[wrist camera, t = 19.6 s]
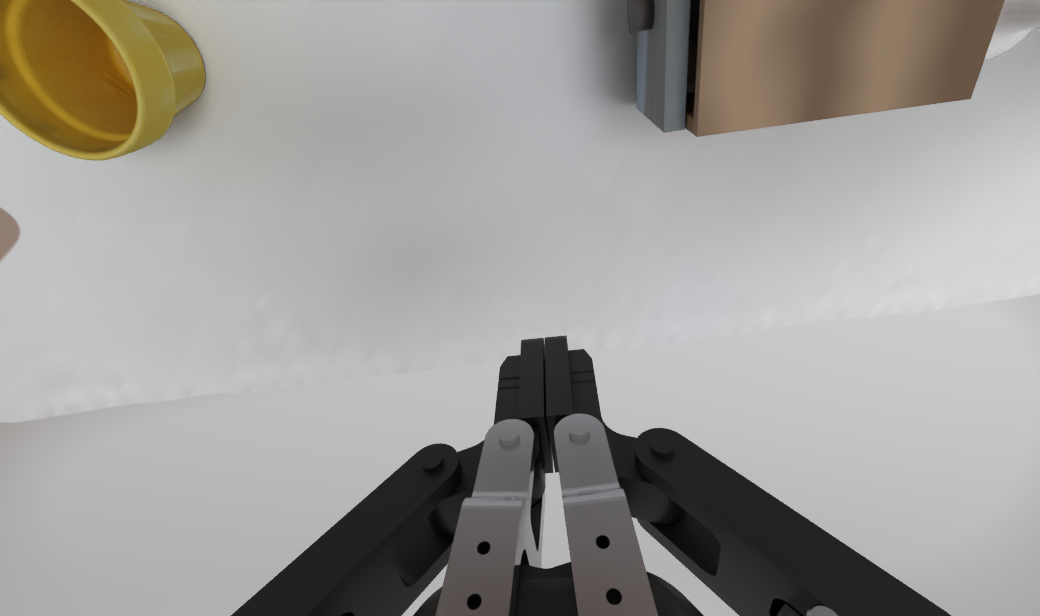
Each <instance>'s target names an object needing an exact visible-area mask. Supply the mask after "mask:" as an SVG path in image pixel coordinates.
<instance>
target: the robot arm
mask: <svg viewBox="0 0 1040 616" xmlns="http://www.w3.org/2000/svg"><path fill="white" fill-rule="evenodd" d="M552 454H553V455H552ZM553 460H554V467H555V472H559V475H560V483H561V490H562V499H563V506H564V514H565V521H566V528H567V536H568V543H569V550H570V557H571V562H569V563H566V564H563V565H559V566H556V567H554V568H549V569H542V568H541V553H542V539H543V523H544V509H545V492H544V491H545V473H553ZM631 517H634V518H637V520H638V522H639V523H640V525H641V526H642V527H643V528H644V529H645V530H646V531H647V532H648V533H649V534H650V535H651V536H653V537H654V538H655V539H656V540H657V541H658V542H659V543H660V544H661V545H662V546H664V547H665V548H666V549H667V550H668V551H669V552H670V553H671V554H672V555H673V556H675V557H676V558H677V559H678V560H679V561H680V562H681V563H682V564H683V565H684V566H685V567H687V568H688V569H689V570H690V571H691V572H692V573H693V574H694V575H695V576H696V577H698V578H699V579H700V580H701V581H702V582H703V583H704V584H705V585H706V586H707V587H709V588H710V589H711V590H712V591H713V592H714V593H715V594H716V595H717V596H718V597H720V598H721V599H722V600H723V601H724V602H725V603H726V604H727V605H728V606H729V607H731V608H732V609H733V610H734V611H735V612H736V613H737V614H738V615H739V616H951V615H950V614H948V613H947V612H946V611H944V610H943V609H941V608H940V607H938V606H936V605H935V604H934V603H932V602H930V601H929V600H928V599H926V598H925V597H923V596H922V595H920V594H919V593H917V592H916V591H914V590H913V589H911V588H909V587H908V586H907V585H905V584H904V583H902V582H901V581H899V580H898V579H896V578H895V577H893V576H892V575H890V574H889V573H887V572H886V571H884V570H883V569H881V568H880V567H878V566H877V565H875V564H874V563H872V562H871V561H869V560H868V559H866V558H865V557H863V556H861V555H860V554H859V553H857V552H856V551H854V550H853V549H851V548H850V547H848V546H847V545H845V544H844V543H842V542H840V541H839V540H838V539H836V538H835V537H833V536H832V535H830V534H829V533H827V532H826V531H824V530H823V529H821V528H820V527H818V526H817V525H815V524H814V523H812V522H811V521H809V520H808V519H806V518H805V517H803V516H802V515H800V514H799V513H797V512H796V511H794V510H793V509H791V508H790V507H788V506H787V505H785V504H784V503H782V502H781V501H779V500H778V499H776V498H775V497H773V496H772V495H770V494H769V493H767V492H766V491H764V490H763V489H761V488H760V487H758V486H757V485H755V484H754V483H752V482H751V481H749V480H748V479H746V478H745V477H743V476H742V475H740V474H739V473H737V472H736V471H734V470H733V469H731V468H730V467H728V466H727V465H725V464H724V463H722V462H721V461H719V460H718V459H716V458H715V457H713V456H712V455H710V454H709V453H707V452H706V451H704V450H703V449H701V448H700V447H698V446H697V445H695V444H694V443H692V442H691V441H689V440H688V439H686V438H685V437H683V436H682V435H680V434H679V433H677V432H675V431H672V430H669V429H664V428H654V429H650V430H647V431H645V432H643V433H642V434H640V435H639V436H638V438H635V437H630V436H625V435H621V434H618V433H616V432H614V431H612V430H611V429H609V428H608V427H607V426H606V425H605V423H604V422H603V420H602V417H601V413H600V406H599V401H598V394H597V387H596V382H595V375H594V369H593V362H592V358H591V357H590V356H589V355H588V353H587V352H586V351H585V350H584V349H581V350H570V351H568V345H567V336H557V337H546V338H545V344H544V339H543V338H537V339H527V340H522V341H521V355H518V356H507V358H506V359H505V361H504V362H503V364H502V365H501V367H500V373H499V382H498V391H497V400H496V411H495V420H494V425H493V426H492V427H491V428H490V429H489V431H488V432H487V434H486V436H485V440H484V441H482V442H481V443H479V444H477V445H476V446H473V447H471V448H468V449H465V450H462V451H460V452H456V450H455V449H454V448H453V447H451V446H449V445H447V444H432V445H429V446H427V447H424V448H423V449H422V450H420V451H418V452H417V453H416V454H415V455H414V456H412V457H411V458H410V459H409V460H408V461H407V462H406V463H405V464H403V465H402V466H401V467H400V468H399V469H398V470H397V471H395V472H394V473H393V474H392V475H391V476H390V477H389V478H387V479H386V480H385V481H384V482H383V483H382V484H381V485H379V486H378V487H377V488H376V489H375V490H374V491H373V492H371V493H370V494H369V495H368V496H367V497H366V498H365V499H363V500H362V501H361V502H360V503H359V504H358V505H357V506H355V507H354V508H353V509H352V510H351V511H350V512H349V513H347V514H346V515H345V516H344V517H343V518H342V519H341V520H339V521H338V522H337V523H336V524H335V525H334V526H333V527H331V528H330V529H329V530H328V531H327V532H326V533H325V534H324V535H322V536H321V537H320V538H319V539H318V540H317V541H316V542H314V543H313V544H312V545H311V546H310V547H309V548H308V549H306V550H305V551H304V552H303V553H302V554H301V555H300V556H299V557H297V558H296V559H295V560H294V561H293V562H292V563H290V564H289V565H288V566H287V567H286V568H285V569H284V570H283V571H281V572H280V573H279V574H278V575H277V576H276V577H274V578H273V579H272V580H271V581H270V582H269V583H268V584H266V585H265V586H264V587H263V588H262V589H261V590H260V591H258V592H257V593H256V594H255V595H254V596H253V597H252V598H251V599H250V600H248V601H247V602H246V603H245V604H244V605H243V606H241V607H240V608H239V609H238V610H237V611H236V612H235V613H233V614H232V615H231V616H401V615H402V614H403V613H404V612H405V611H406V610H407V609H408V608H409V606H410V605H411V604H412V603H413V602H414V601H415V600H416V598H417V597H418V596H419V595H420V594H421V593H422V592H423V591H424V590H425V588H426V587H427V586H428V585H429V584H430V583H431V582H432V581H433V579H434V578H435V577H436V576H437V575H438V574H439V573H440V572H441V570H442V569H443V568H444V567H445V566H446V565H447V564H448V565H447V570H446V574H445V578H444V583H443V586H442V587H441V588H440V589H438V590H437V591H436V592H435V593H433V594H432V595H431V596H430V597H429V598H428V599H427V600H426V601H425V602H424V603H423V604H422V606H421V607H420V608H419V609H418V610H417V612H416V613H415V614H414V615H413V616H703V615H702V614H701V613H700V611H698V609H696V607H695V606H694V605H693V604H692V603H691V602H690V601H689V600H688V599H687V598H686V597H685V596H684V595H683V594H682V593H681V592H679V591H678V590H677V589H676V588H675V587H673V586H672V585H671V584H669V583H668V582H666V581H665V580H663V579H662V578H660V577H658V576H656V575H654V574H651V573H649V572H646V569H645V566H644V562H643V559H642V555H641V551H640V547H639V544H638V540H637V536H636V533H635V529H634V525H633V521H632V518H631Z"/></svg>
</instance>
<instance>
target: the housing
mask: <svg viewBox="0 0 1040 616" xmlns="http://www.w3.org/2000/svg"><path fill="white" fill-rule="evenodd" d="M1004 2H1005V0H700V11H699V29H698V48H697V66H696V85H695V92H691V93H686V110H685V128H686V129H687V130H689V131H690V132H691V133H693V134H694V135H695V136H697V137H698V136H705V135H712V134H720V133H727V132H734V131H741V130H748V129H756V128H763V127H770V126H777V125H785V124H792V123H799V122H806V121H813V120H821V119H828V118H835V117H842V116H849V115H857V114H864V113H871V112H878V111H885V110H893V109H900V108H907V107H914V106H922V105H929V104H936V103H943V102H950V101H958V100H965V99H971V96H972V93H973V90H974V87H975V85H976V82H977V79H978V76H979V73H980V70H981V67H982V65H983V62H984V59H985V56H986V53H987V50H988V47H989V45H990V42H991V39H992V36H993V33H994V30H995V27H996V24H997V22H998V19H999V16H1000V13H1001V10H1002V7H1003V4H1004Z"/></svg>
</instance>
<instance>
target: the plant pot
mask: <svg viewBox="0 0 1040 616" xmlns="http://www.w3.org/2000/svg"><path fill="white" fill-rule="evenodd" d="M204 85H205V69H204V64H203V60H202V57H201V55H200V52H199V50H198V48H197V46H196V45H195V43H194V42H193V40H192V39H191V37H190V36H189V35H188V33H187V32H186V31H185V30H184V29H183V28H182V27H181V26H180V25H179V24H178V23H177V22H175V21H174V20H173V19H171V18H170V17H168V16H167V15H165V14H163V13H161V12H159V11H157V10H154V9H152V8H149V7H146V6H142V5H139V4H136V3H133V2H130V1H127V0H0V114H1V115H2V116H3V117H4V118H5V119H6V120H8V121H9V122H10V123H11V124H12V125H13V126H15V127H16V128H17V129H19V130H20V131H21V132H23V133H24V134H26V135H27V136H29V137H30V138H32V139H33V140H35V141H37V142H39V143H40V144H42V145H44V146H46V147H48V148H50V149H52V150H54V151H57V152H59V153H62V154H65V155H67V156H71V157H75V158H79V159H85V160H108V159H113V158H116V157H120V156H123V155H125V154H128V153H131V152H134V151H136V150H139V149H141V148H143V147H146V146H148V145H150V144H152V143H154V142H155V141H157V140H158V139H160V138H161V137H162V136H163V135H164V134H165V132H166V131H167V130H168V128H169V126H170V125H171V123H172V120H173V117H174V116H175V115H176V114H178V113H179V112H180V111H182V110H183V109H184V108H185V107H187V106H188V105H190V104H191V103H192V102H194V101H195V100H196V99H197V98H198V97H199V96H200V95H201V93H202V91H203V88H204Z"/></svg>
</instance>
